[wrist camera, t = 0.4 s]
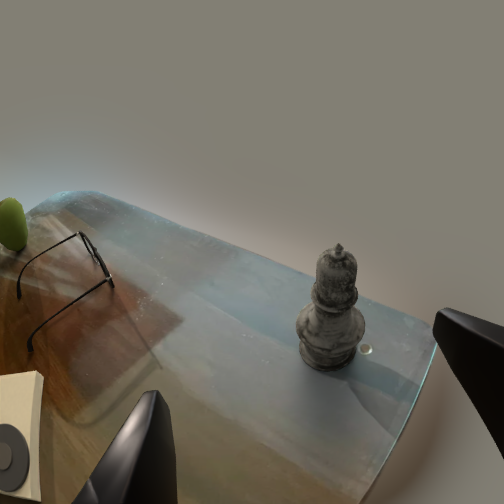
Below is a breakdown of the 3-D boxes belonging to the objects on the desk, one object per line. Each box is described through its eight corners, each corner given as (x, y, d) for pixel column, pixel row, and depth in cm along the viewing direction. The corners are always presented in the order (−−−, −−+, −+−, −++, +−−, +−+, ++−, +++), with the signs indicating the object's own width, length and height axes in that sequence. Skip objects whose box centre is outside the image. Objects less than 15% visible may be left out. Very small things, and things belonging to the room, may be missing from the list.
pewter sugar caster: (314, 385, 24) (323, 290, 16) (285, 336, 28) (277, 233, 20) (370, 355, 25) (401, 254, 17) (338, 312, 29) (348, 209, 22)
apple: (11, 266, 44) (-18, 217, 36) (3, 254, 48) (-21, 210, 40) (42, 240, 49) (17, 190, 42) (31, 231, 53) (10, 186, 46)
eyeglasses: (127, 295, 35) (114, 271, 32) (31, 362, 27) (12, 342, 25) (90, 244, 45) (80, 224, 42) (17, 294, 37) (4, 276, 35)
